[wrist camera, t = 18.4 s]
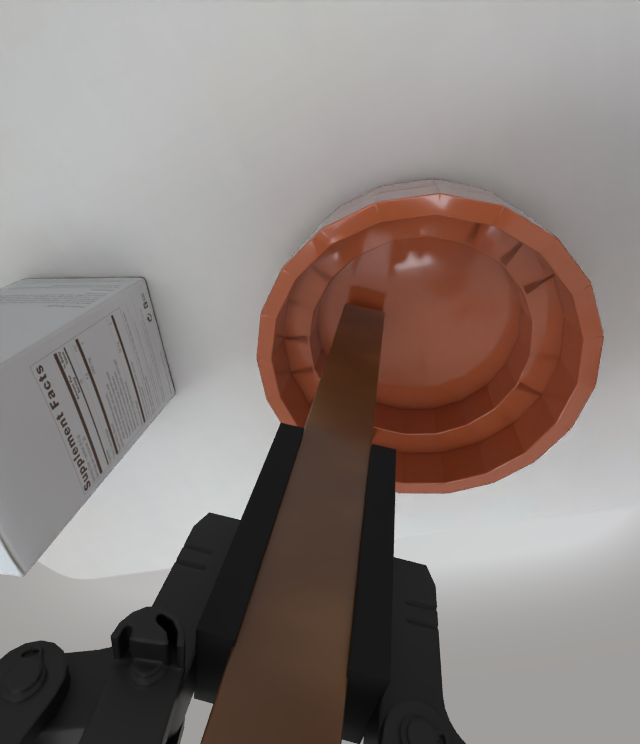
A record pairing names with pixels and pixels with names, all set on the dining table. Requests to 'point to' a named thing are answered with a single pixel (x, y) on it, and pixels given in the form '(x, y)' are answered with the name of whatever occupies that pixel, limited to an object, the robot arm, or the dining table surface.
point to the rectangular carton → (70, 399)
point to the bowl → (441, 329)
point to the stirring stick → (309, 565)
